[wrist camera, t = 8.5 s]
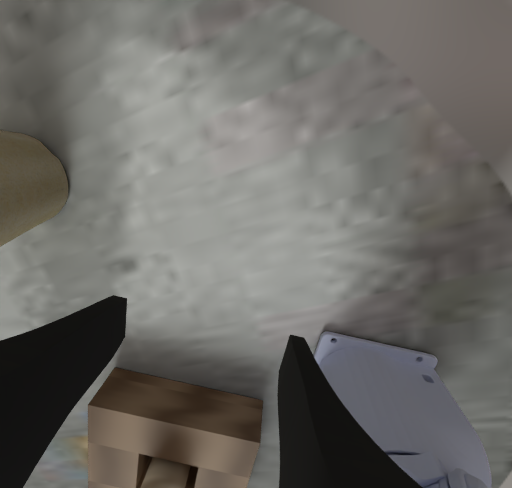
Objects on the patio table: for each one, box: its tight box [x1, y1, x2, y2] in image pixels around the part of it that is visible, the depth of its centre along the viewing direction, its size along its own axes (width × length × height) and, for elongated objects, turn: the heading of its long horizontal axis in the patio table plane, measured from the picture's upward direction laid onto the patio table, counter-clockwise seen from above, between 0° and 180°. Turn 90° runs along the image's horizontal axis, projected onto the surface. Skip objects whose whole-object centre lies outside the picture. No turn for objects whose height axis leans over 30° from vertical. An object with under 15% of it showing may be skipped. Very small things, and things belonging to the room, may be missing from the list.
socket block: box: [88, 368, 263, 488], centre depth 27 cm, size 14×14×4 cm
